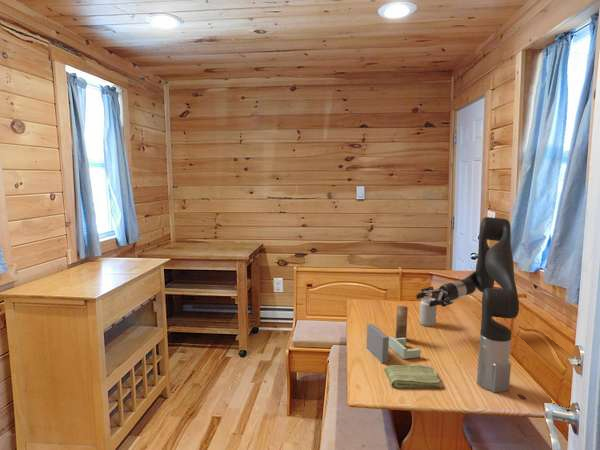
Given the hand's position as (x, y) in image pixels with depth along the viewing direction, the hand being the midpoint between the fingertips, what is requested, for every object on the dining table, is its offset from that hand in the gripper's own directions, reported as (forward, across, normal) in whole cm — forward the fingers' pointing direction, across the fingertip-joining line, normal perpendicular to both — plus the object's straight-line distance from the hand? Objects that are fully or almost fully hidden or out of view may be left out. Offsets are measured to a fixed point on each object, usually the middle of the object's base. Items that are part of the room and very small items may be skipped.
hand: (423, 300), depth 176 cm
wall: (+30, +9, +11) cm, 33 cm away
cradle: (+18, +10, +13) cm, 24 cm away
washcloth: (+28, +29, +10) cm, 42 cm away
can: (-11, -11, +20) cm, 25 cm away
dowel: (+11, -1, +15) cm, 19 cm away
